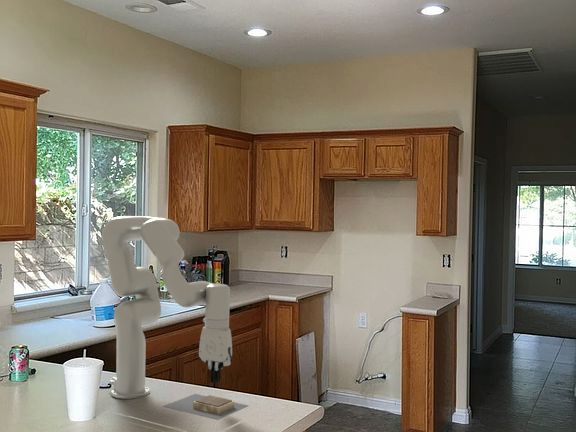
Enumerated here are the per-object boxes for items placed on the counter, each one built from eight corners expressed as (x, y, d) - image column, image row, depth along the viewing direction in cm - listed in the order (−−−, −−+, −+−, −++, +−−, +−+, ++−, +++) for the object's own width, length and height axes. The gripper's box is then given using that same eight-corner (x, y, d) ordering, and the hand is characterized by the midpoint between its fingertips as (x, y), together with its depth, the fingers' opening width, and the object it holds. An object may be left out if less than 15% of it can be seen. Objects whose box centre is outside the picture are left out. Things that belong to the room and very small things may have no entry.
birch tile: (193, 400, 197) (218, 406, 192) (209, 394, 204) (234, 400, 199) (193, 408, 197) (218, 414, 192) (209, 401, 204) (234, 407, 199)
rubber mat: (162, 407, 199) (162, 406, 198) (195, 394, 212) (195, 393, 212) (217, 421, 187) (217, 419, 187) (248, 406, 201) (248, 405, 201)
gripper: (190, 322, 198) (189, 380, 198) (229, 328, 190) (227, 389, 190) (205, 319, 204) (204, 375, 205) (243, 325, 196) (241, 383, 197)
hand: (215, 381), depth 198 cm, fingers closed
